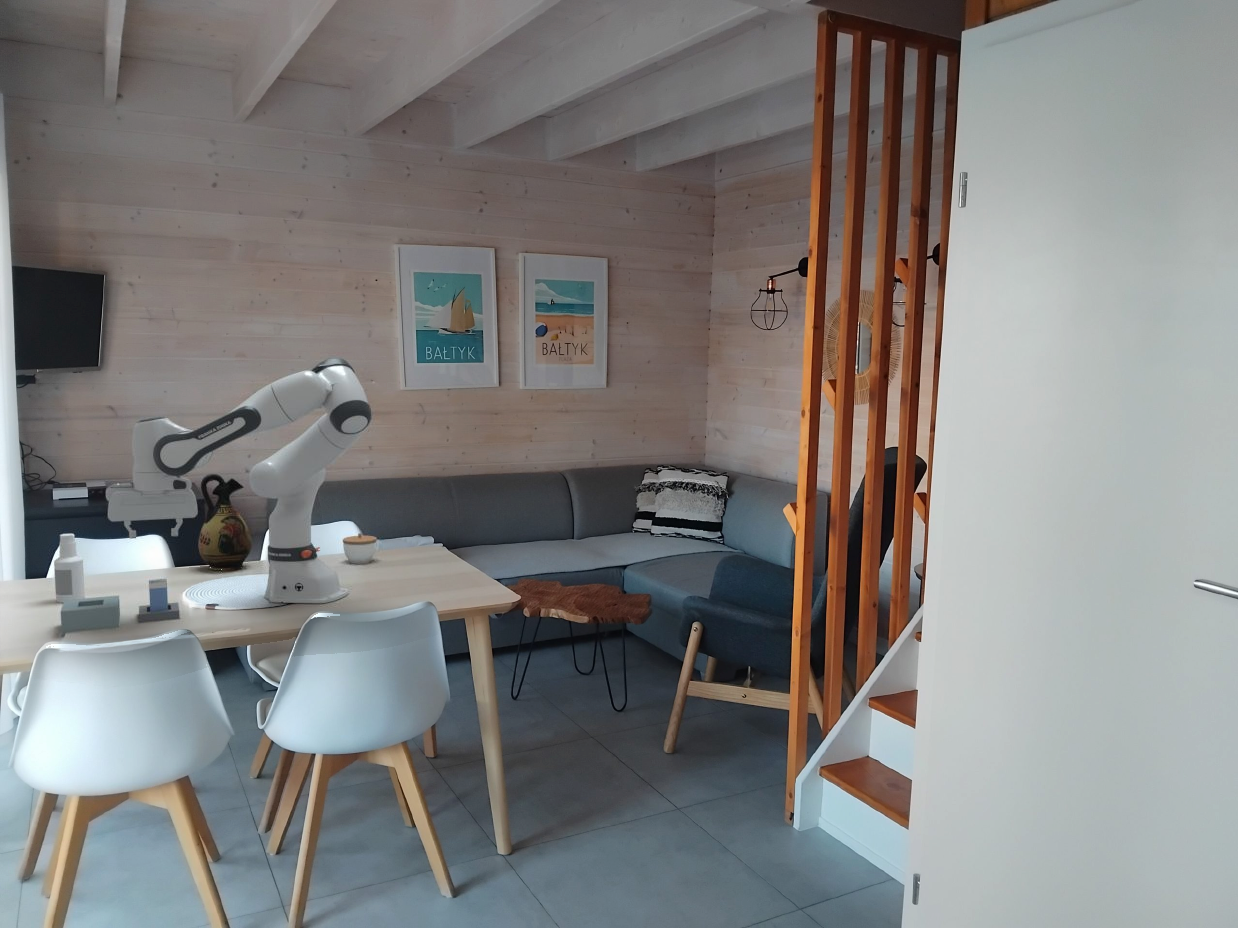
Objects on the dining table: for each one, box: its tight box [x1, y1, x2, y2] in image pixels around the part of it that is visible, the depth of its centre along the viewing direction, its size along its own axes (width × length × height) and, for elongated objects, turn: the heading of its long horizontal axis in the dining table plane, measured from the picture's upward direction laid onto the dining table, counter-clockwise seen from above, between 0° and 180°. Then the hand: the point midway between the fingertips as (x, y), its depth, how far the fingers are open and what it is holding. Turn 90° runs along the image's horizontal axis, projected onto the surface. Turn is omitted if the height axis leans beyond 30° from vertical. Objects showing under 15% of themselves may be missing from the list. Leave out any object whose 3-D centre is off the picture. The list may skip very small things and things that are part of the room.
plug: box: [148, 578, 169, 612], centre depth 240 cm, size 4×4×9 cm
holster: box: [138, 602, 181, 624], centre depth 240 cm, size 9×9×3 cm
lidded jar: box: [342, 533, 378, 565], centre depth 312 cm, size 11×11×9 cm
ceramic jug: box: [198, 473, 253, 572], centre depth 299 cm, size 17×15×30 cm
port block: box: [60, 594, 121, 637], centre depth 233 cm, size 12×12×6 cm
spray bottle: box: [53, 533, 86, 604], centre depth 259 cm, size 7×7×18 cm
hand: (154, 536), depth 240 cm, fingers open, 8 cm apart
